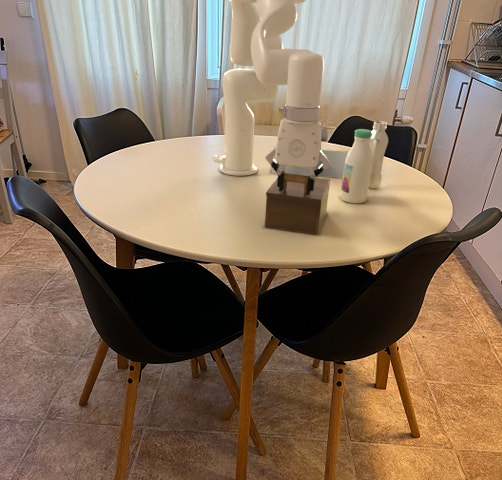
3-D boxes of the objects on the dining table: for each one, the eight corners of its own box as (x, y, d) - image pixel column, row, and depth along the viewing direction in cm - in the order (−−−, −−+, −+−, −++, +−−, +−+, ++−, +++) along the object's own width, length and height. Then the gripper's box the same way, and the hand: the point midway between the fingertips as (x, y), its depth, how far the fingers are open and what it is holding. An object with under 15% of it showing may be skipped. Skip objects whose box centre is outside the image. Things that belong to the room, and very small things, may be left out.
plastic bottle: (380, 190, 150) (392, 125, 140) (358, 188, 151) (369, 123, 141) (380, 184, 156) (391, 120, 145) (358, 182, 157) (369, 119, 146)
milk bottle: (367, 197, 145) (379, 129, 134) (364, 205, 138) (376, 135, 128) (342, 193, 147) (352, 126, 136) (338, 201, 140) (347, 131, 130)
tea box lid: (321, 202, 114) (323, 180, 111) (265, 195, 117) (267, 173, 114) (329, 182, 127) (332, 161, 125) (280, 176, 130) (281, 155, 127)
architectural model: (355, 179, 160) (361, 135, 152) (271, 173, 161) (273, 130, 154) (347, 151, 190) (352, 114, 182) (276, 147, 191) (279, 110, 184)
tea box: (317, 235, 119) (321, 201, 114) (264, 227, 122) (266, 194, 117) (326, 213, 132) (329, 182, 127) (278, 206, 135) (280, 176, 130)
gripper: (260, 113, 106) (256, 192, 115) (338, 121, 102) (328, 201, 111) (268, 108, 112) (264, 182, 121) (342, 114, 108) (332, 191, 117)
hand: (295, 190), depth 116 cm, fingers closed on tea box lid, 6 cm apart
